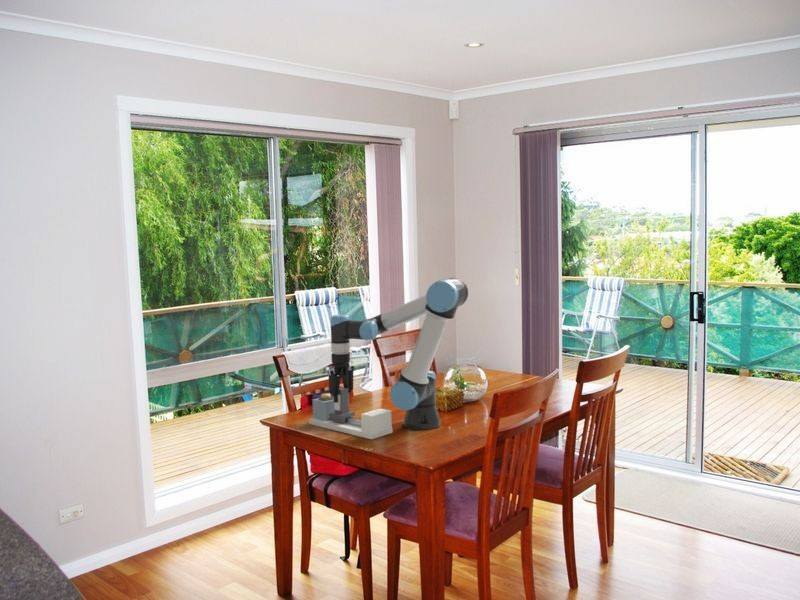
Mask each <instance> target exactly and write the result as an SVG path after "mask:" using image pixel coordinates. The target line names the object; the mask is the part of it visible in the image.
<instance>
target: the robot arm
mask: <svg viewBox="0 0 800 600" xmlns="http://www.w3.org/2000/svg"><path fill="white" fill-rule="evenodd" d="M468 297H469V288H468V285H467V284H466V283H465V282H464V281H463V280H462V279H460V278H456V277H450V278H444V279H439V280H437V281H435V282H433V283H432V284H431V285H429V287H428V289H427V290H426V294H425V295H423V296H420V297H418V298H416V299H413V300H411V301H408V302H406V303H404V304H401V305H399V306H397V307H395V308H392V309H389V310H387V311H385V312H382V313H380V314H377V315H375V316H373V317H370V318H366V319H363V320H350V316H349V315H348V314H334V315H332V316H331V318H330V348H331V349H330V351H331V363H332V367H331V368H330V369H327V371H326V373H327V377H328V390H329V391H328V392H329V393H328V394H331V395H333V396H332V397H333V398H334V402H335V410H339V411H340V410H341V403H340V394H339V388H340V386H341V380H342V385H343V388H348V396H349V399H350V393H351V392H352V390H354V372H355V371H354V370H355V366H354V365H350V361H351V353H350V351H351V349H350V346H351V345H350V340H362V341H363V340H364V341H373V340H376V338H377V336H380V335H382V334H384V333H385V332H388V331H391V330H393V329H396V328H398V327H400V326H403V325H405V324H407V323H410V322H412V321H415V320H417V319H419V318H422V317H424V316H425V317H424V320H423V323H422V326H421V328H420V331H419V333H418V336H417V339H416V342H415V344H414V347H413V349H412V352H411V355H410V358H409V360H408V363H407V366H406V368H404V369H402V370H401V371H400V374H399V377H398V379H397V381H396V382H395V383H393V385H392V386H391V388H390V390H389V396H390V400H391V402H392V404H393V406H395V407H396V408H397V409H399V410H402V411H406V412H405V415H404V418H403V427H404V428H406V429H410V430H416V431H428V430H434V429H438V428H439V427H441V419H440V415H439V413H438V409H437V405H436V403H437V400H436V399H437V398H436V397H437V394H436V393H437V391H436V390H437V387H436V386H437V382H436V381H437V378H436V373H435V371H433V370H430V368H431V366H432V364H433V361H434V358H435V357H436V353H437V350H438V349H439V345H440V343H441V340H442V338H443V335H444V333H445V330H446V327H447V325H448V322H449V321H452V320H454V318H455V314H456V312H457V310H458V307H461V306H463V305H464V304H465V302H466V301H467V300H468Z"/></svg>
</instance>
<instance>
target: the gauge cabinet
mask: <svg viewBox="0 0 800 600" xmlns="http://www.w3.org/2000/svg"><path fill="white" fill-rule="evenodd" d="M331 412H335V402H334V397H333V400H329V401H322V400H319V397H318V398H315V399H314V398H313V399H312V418H314V419H318V420H322V421H329V420H331V417H329V413H331Z"/></svg>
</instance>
